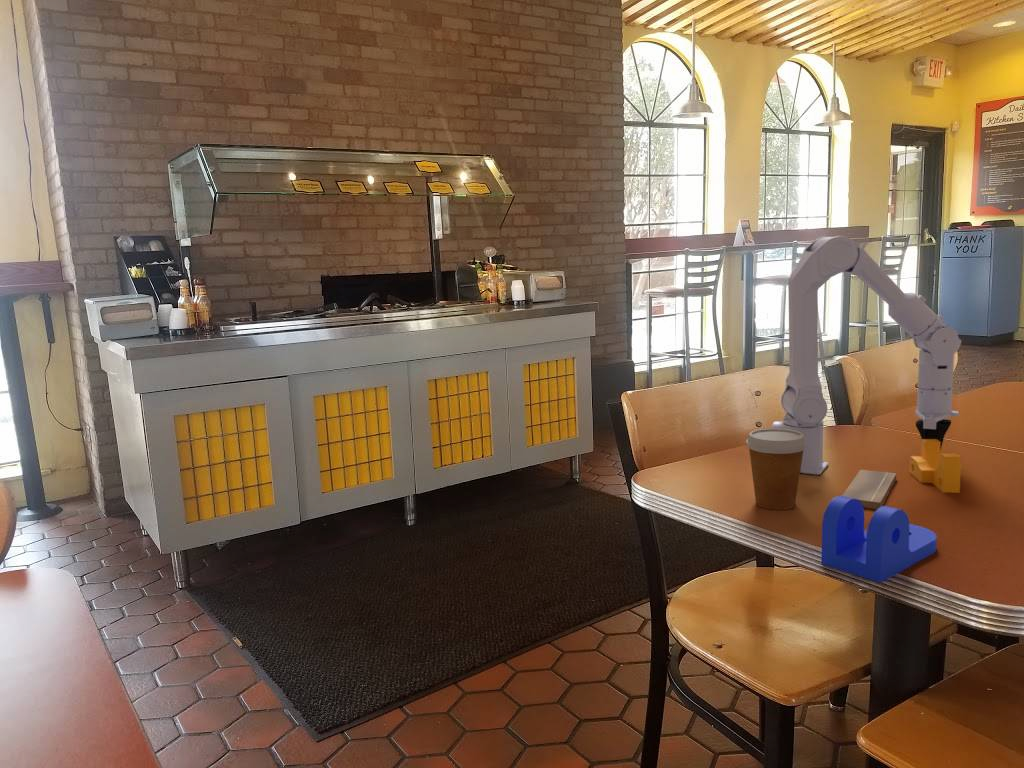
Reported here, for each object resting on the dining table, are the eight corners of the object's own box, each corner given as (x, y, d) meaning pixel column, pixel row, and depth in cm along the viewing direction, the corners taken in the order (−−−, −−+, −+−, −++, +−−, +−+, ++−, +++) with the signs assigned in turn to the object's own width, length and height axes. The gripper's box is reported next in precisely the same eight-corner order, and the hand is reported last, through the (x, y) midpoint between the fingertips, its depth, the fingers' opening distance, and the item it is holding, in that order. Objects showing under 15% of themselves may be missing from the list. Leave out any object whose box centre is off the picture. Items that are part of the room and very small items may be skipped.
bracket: (880, 583, 101) (883, 516, 99) (821, 565, 107) (822, 501, 106) (947, 547, 111) (950, 486, 110) (889, 532, 118) (891, 474, 116)
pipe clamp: (909, 473, 146) (911, 439, 145) (935, 473, 145) (936, 439, 144) (932, 493, 134) (933, 456, 133) (959, 493, 133) (961, 456, 132)
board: (840, 504, 130) (840, 497, 130) (860, 475, 145) (860, 469, 145) (880, 509, 127) (880, 502, 127) (896, 479, 142) (896, 473, 141)
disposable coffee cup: (779, 517, 126) (780, 444, 124) (733, 502, 134) (733, 434, 132) (818, 505, 130) (819, 434, 128) (771, 491, 138) (772, 425, 136)
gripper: (956, 395, 138) (952, 470, 141) (962, 382, 150) (959, 451, 153) (911, 393, 142) (909, 466, 144) (921, 380, 154) (918, 447, 156)
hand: (931, 458), depth 149 cm, fingers closed
